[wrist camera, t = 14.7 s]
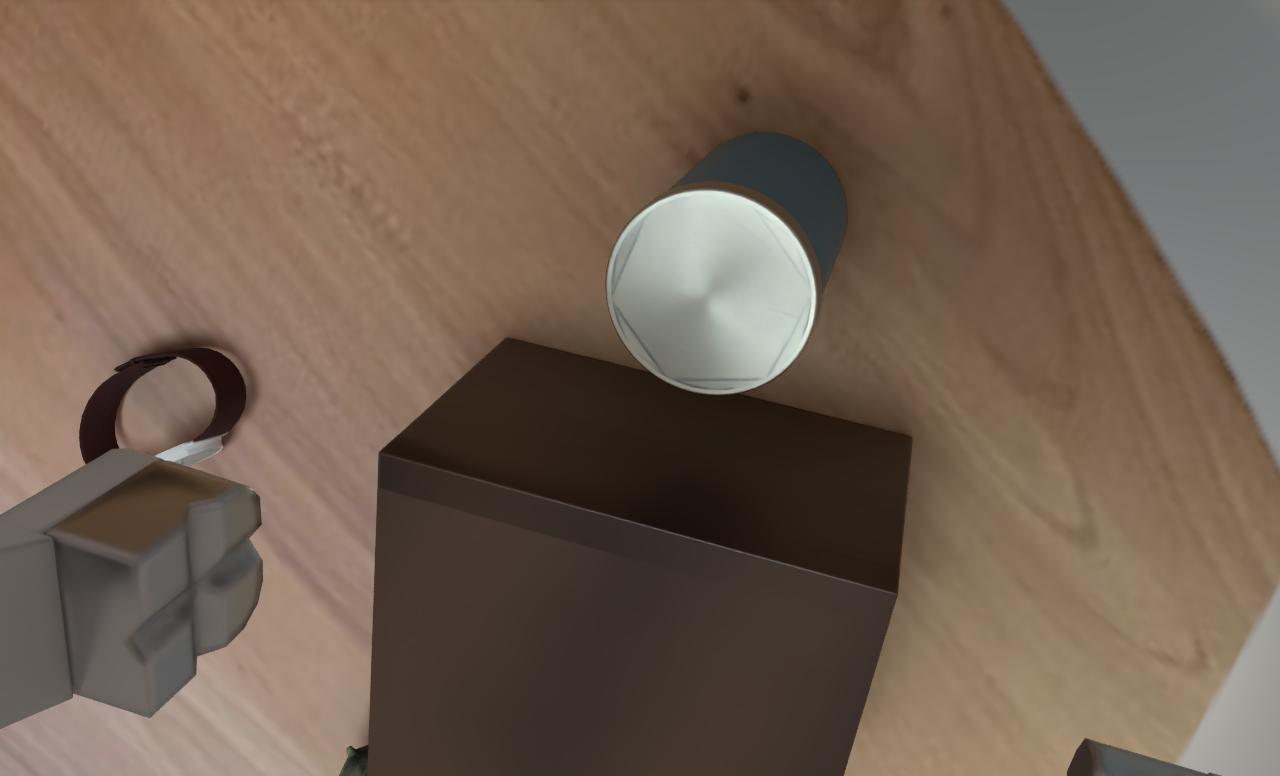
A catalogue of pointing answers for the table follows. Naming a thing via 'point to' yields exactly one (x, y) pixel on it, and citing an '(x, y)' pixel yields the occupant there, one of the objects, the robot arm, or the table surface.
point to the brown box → (627, 578)
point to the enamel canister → (729, 266)
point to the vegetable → (356, 762)
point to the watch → (107, 397)
